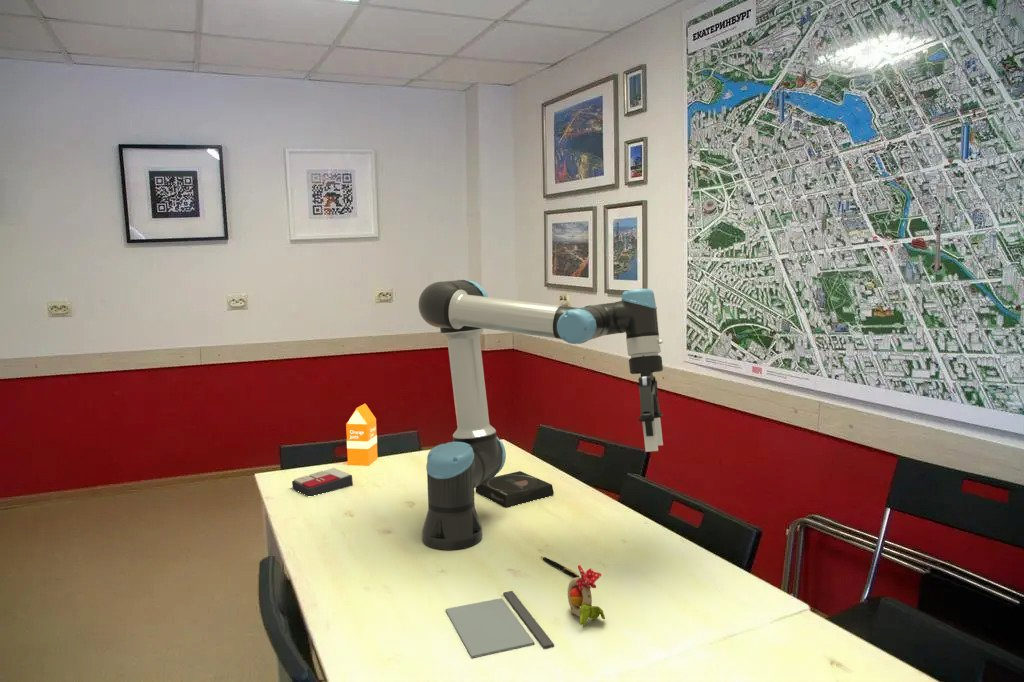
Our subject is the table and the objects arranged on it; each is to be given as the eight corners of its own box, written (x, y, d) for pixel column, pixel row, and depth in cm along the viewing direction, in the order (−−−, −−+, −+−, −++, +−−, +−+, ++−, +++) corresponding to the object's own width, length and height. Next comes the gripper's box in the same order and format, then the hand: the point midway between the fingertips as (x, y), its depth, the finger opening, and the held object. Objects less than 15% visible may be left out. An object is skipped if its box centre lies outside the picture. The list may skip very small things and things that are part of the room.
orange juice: (347, 465, 241) (345, 408, 239) (357, 457, 250) (354, 402, 248) (369, 465, 240) (366, 408, 238) (378, 458, 249) (376, 403, 246)
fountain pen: (537, 559, 164) (537, 553, 164) (541, 558, 165) (541, 551, 165) (578, 581, 153) (578, 575, 153) (582, 580, 153) (582, 573, 153)
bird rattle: (561, 628, 137) (588, 629, 130) (548, 570, 140) (573, 568, 132) (587, 619, 140) (614, 620, 133) (573, 563, 143) (599, 560, 136)
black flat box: (553, 497, 207) (553, 484, 207) (506, 509, 198) (505, 495, 197) (521, 482, 221) (521, 470, 220) (475, 493, 211) (475, 481, 211)
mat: (443, 606, 142) (443, 603, 142) (512, 592, 148) (512, 590, 148) (475, 664, 122) (474, 661, 122) (553, 646, 127) (553, 643, 127)
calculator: (291, 478, 217) (334, 465, 227) (292, 492, 217) (335, 478, 228) (308, 486, 209) (352, 472, 219) (309, 500, 209) (353, 486, 220)
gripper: (656, 352, 149) (667, 452, 147) (665, 355, 173) (674, 442, 171) (621, 355, 151) (631, 454, 149) (634, 359, 175) (643, 444, 173)
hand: (654, 448), depth 160 cm, fingers open, 13 cm apart
